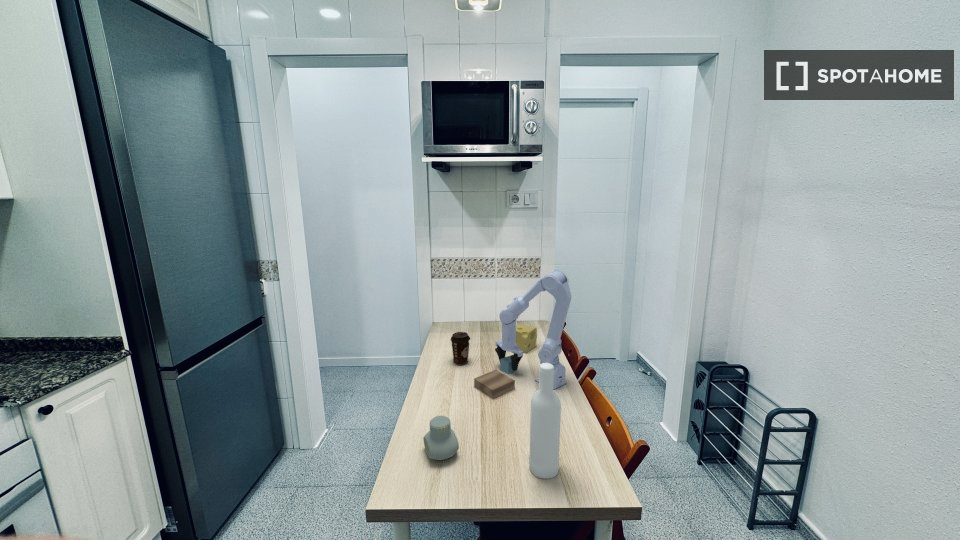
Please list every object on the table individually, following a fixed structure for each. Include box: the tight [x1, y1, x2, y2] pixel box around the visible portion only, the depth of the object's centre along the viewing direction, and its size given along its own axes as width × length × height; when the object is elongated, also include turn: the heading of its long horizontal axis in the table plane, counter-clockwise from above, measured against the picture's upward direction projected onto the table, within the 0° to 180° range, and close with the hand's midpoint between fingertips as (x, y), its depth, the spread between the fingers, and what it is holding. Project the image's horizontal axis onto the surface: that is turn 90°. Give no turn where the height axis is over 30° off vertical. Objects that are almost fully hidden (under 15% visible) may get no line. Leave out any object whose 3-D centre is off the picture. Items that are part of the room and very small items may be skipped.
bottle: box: [528, 363, 562, 480], centre depth 95 cm, size 8×8×30 cm
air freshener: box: [423, 415, 460, 461], centre depth 103 cm, size 11×8×10 cm
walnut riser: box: [473, 369, 516, 400], centre depth 138 cm, size 11×11×4 cm
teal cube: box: [499, 355, 518, 375], centre depth 152 cm, size 5×5×5 cm
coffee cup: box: [450, 331, 471, 366], centre depth 159 cm, size 9×8×13 cm
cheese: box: [516, 323, 538, 354], centre depth 175 cm, size 10×11×10 cm
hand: (508, 366), depth 152 cm, fingers open, 7 cm apart
